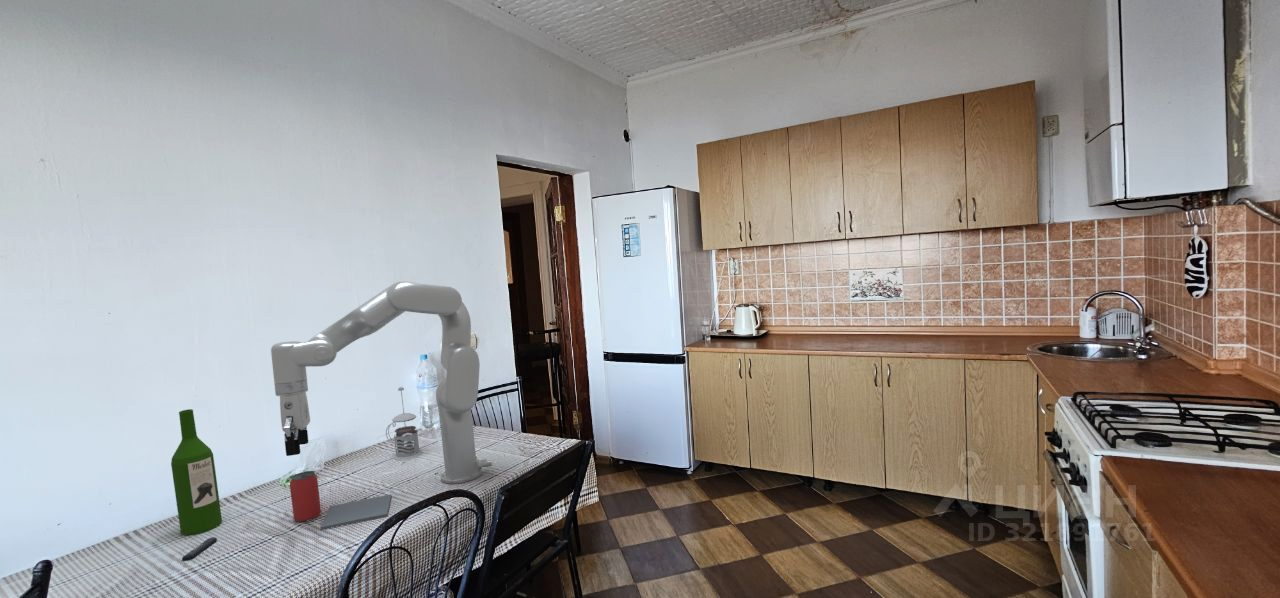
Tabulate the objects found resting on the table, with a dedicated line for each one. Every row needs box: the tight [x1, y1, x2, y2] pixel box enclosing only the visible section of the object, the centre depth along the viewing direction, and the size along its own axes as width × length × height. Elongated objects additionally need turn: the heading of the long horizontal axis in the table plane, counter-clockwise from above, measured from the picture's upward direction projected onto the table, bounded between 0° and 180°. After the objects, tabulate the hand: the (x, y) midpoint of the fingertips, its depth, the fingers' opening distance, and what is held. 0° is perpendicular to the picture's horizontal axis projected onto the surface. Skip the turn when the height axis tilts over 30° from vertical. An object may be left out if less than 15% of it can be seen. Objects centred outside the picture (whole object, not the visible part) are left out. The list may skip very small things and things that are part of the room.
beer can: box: [289, 470, 322, 523], centre depth 154 cm, size 7×7×12 cm
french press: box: [385, 386, 424, 461], centre depth 200 cm, size 10×12×25 cm
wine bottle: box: [170, 408, 223, 536], centre depth 152 cm, size 9×9×32 cm
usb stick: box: [181, 536, 218, 562], centre depth 139 cm, size 10×3×2 cm, turn 4°
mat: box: [320, 494, 392, 531], centre depth 155 cm, size 16×14×1 cm
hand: (297, 449), depth 153 cm, fingers open, 9 cm apart
